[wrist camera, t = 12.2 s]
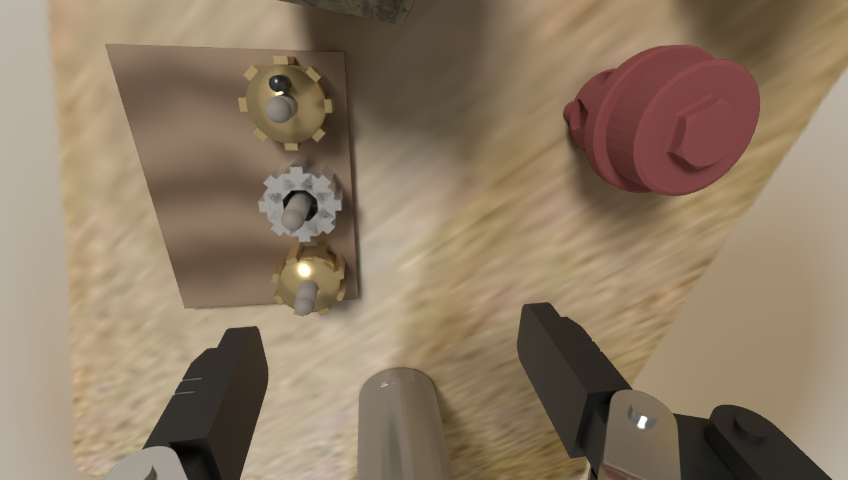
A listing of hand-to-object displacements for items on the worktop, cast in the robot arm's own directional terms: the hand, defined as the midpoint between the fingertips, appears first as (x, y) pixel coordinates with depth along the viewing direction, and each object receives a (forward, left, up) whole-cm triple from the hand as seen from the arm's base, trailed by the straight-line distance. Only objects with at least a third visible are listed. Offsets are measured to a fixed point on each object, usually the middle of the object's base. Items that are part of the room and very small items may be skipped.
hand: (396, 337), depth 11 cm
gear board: (-3, +10, -24) cm, 26 cm away
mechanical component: (+4, -20, -24) cm, 31 cm away
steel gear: (-3, +6, -22) cm, 23 cm away
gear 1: (+5, +6, -22) cm, 24 cm away
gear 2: (-10, +6, -22) cm, 26 cm away
